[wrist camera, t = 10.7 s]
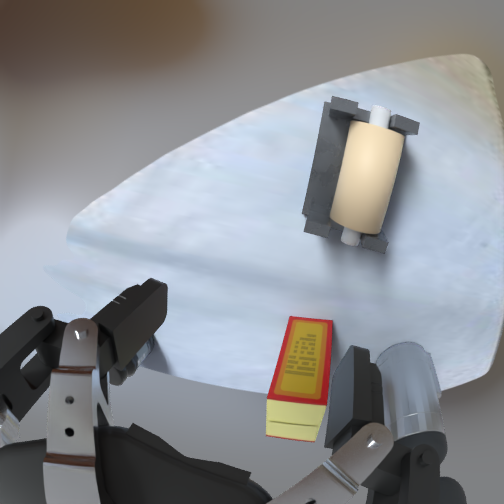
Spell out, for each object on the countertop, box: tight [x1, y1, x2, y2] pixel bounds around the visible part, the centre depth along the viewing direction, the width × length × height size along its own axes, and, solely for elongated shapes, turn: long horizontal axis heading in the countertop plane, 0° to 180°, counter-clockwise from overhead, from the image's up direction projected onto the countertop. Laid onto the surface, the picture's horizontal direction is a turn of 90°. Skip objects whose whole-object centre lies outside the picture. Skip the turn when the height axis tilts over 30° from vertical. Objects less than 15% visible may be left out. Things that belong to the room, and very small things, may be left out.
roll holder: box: [302, 96, 420, 254], centre depth 27 cm, size 10×14×8 cm
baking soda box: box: [266, 316, 333, 442], centre depth 35 cm, size 10×6×16 cm
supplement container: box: [109, 336, 154, 386], centre depth 47 cm, size 10×10×12 cm
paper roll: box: [330, 105, 405, 246], centre depth 25 cm, size 14×6×6 cm
